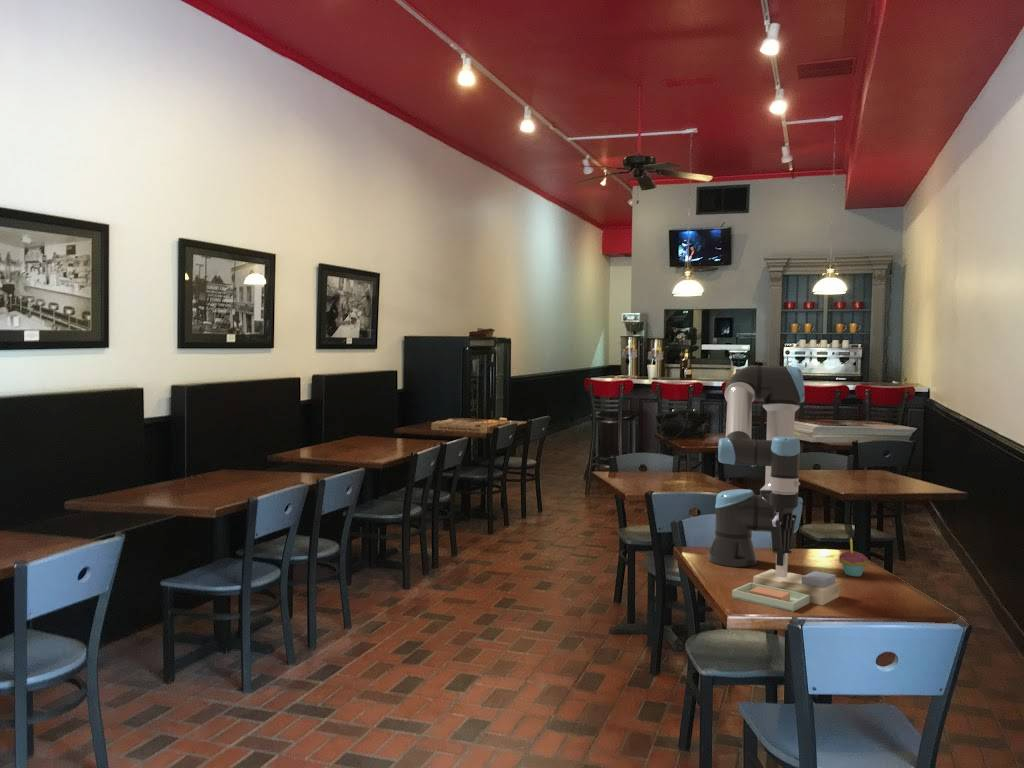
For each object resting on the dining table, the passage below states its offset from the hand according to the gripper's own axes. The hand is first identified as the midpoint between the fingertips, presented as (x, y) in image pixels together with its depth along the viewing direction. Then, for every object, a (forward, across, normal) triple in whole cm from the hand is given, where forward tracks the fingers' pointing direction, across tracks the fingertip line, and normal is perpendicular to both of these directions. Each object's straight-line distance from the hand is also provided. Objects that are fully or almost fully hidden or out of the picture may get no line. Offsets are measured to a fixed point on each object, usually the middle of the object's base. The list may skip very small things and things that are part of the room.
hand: (781, 576), depth 230 cm
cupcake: (+6, +40, -6) cm, 40 cm away
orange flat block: (+4, -7, 0) cm, 8 cm away
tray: (+6, -6, 0) cm, 8 cm away
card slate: (+1, +7, -8) cm, 10 cm away
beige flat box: (+6, +6, -2) cm, 8 cm away
